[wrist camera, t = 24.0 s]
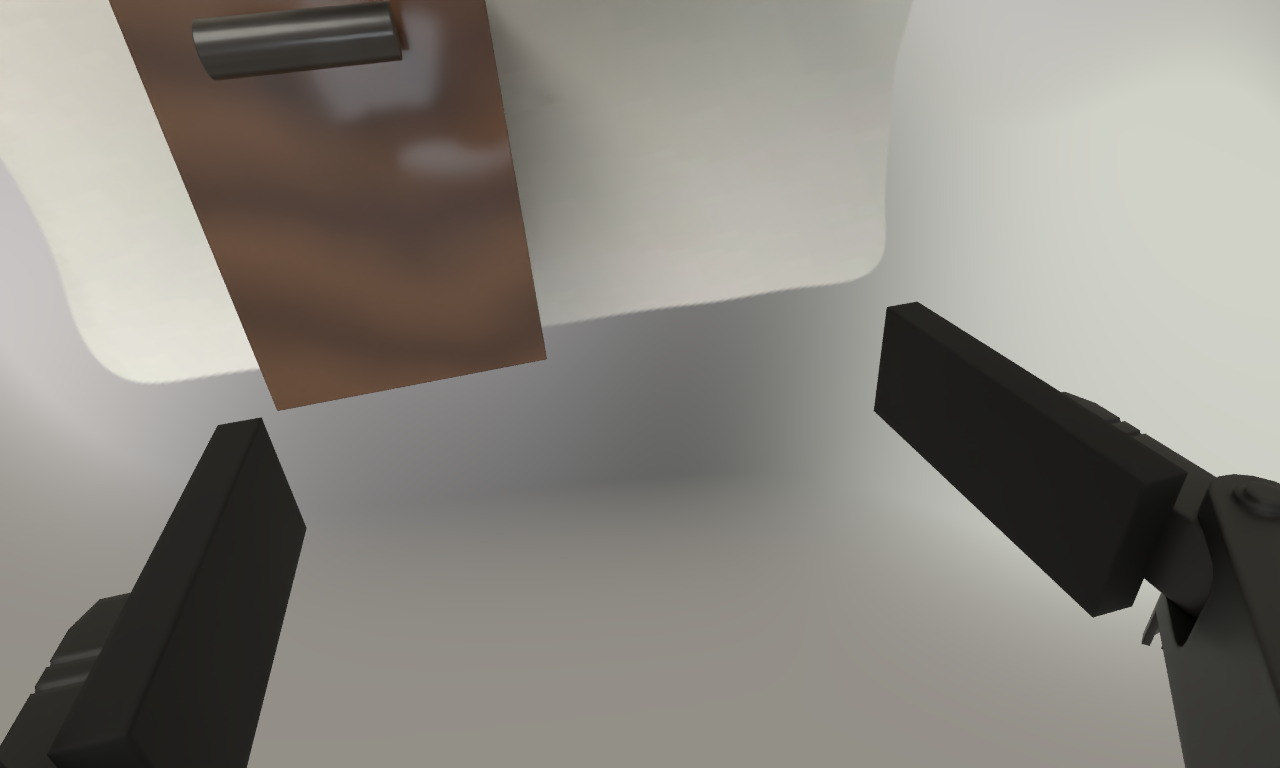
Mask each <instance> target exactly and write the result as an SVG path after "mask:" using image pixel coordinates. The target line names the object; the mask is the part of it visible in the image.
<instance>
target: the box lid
mask: <svg viewBox="0 0 1280 768" xmlns="http://www.w3.org/2000/svg"><path fill="white" fill-rule="evenodd" d="M109 2H110V5H111V7H112V9H113V12H114V14H115V17H116V19H117V22H118V24H119V26H120V29H121V31H122V34H123V36H124V39H125V41H126V44H127V46H128V48H129V51H130V53H131V56H132V58H133V61H134V63H135V65H136V68H137V70H138V73H139V75H140V78H141V80H142V82H143V85H144V87H145V90H146V92H147V95H148V97H149V99H150V102H151V104H152V107H153V109H154V112H155V114H156V116H157V119H158V121H159V124H160V126H161V129H162V131H163V134H164V136H165V138H166V141H167V143H168V146H169V148H170V151H171V153H172V155H173V158H174V160H175V163H176V165H177V168H178V170H179V172H180V175H181V177H182V180H183V182H184V185H185V187H186V189H187V192H188V194H189V197H190V199H191V202H192V204H193V207H194V209H195V211H196V214H197V216H198V219H199V221H200V224H201V226H202V228H203V231H204V233H205V236H206V238H207V241H208V243H209V245H210V248H211V250H212V253H213V255H214V258H215V260H216V262H217V265H218V267H219V270H220V272H221V275H222V277H223V280H224V282H225V284H226V287H227V289H228V292H229V294H230V297H231V299H232V301H233V304H234V306H235V309H236V311H237V314H238V316H239V318H240V321H241V323H242V326H243V328H244V331H245V333H246V335H247V338H248V340H249V343H250V345H251V348H252V350H253V352H254V355H255V357H256V360H257V362H258V365H259V367H260V370H261V372H262V374H263V377H264V379H265V382H266V384H267V386H268V389H269V391H270V394H271V396H272V399H273V401H274V404H275V406H276V408H277V410H278V411H280V410H285V409H290V408H296V407H301V406H306V405H311V404H316V403H322V402H327V401H332V400H337V399H342V398H347V397H353V396H358V395H363V394H368V393H374V392H379V391H384V390H389V389H394V388H400V387H405V386H410V385H415V384H420V383H426V382H431V381H435V380H441V379H446V378H452V377H456V376H462V375H467V374H472V373H477V372H483V371H488V370H493V369H498V368H503V367H509V366H514V365H519V364H524V363H529V362H535V361H540V360H545V359H547V357H546V351H545V345H544V340H543V334H542V328H541V322H540V316H539V310H538V305H537V299H536V293H535V287H534V281H533V276H532V270H531V264H530V258H529V253H528V247H527V241H526V235H525V229H524V224H523V218H522V212H521V206H520V201H519V195H518V189H517V183H516V177H515V172H514V166H513V160H512V154H511V149H510V143H509V137H508V131H507V125H506V120H505V114H504V108H503V102H502V96H501V91H500V85H499V79H498V73H497V68H496V62H495V56H494V50H493V44H492V39H491V33H490V27H489V21H488V16H487V10H486V4H485V0H109Z"/></svg>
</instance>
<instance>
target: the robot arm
mask: <svg viewBox="0 0 1280 768" xmlns="http://www.w3.org/2000/svg"><path fill="white" fill-rule="evenodd" d="M874 411H875V412H876V413H877V414H878V415H879V416H880V417H881V418H882V419H883V420H884V421H885V422H886V423H887V424H888V425H890V427H892V428H893V429H894V430H895V431H896V432H897V433H898V434H899V435H900V436H901V437H902V438H903V439H904V440H906V442H907V443H909V444H910V445H911V446H912V447H913V448H914V449H915V450H916V451H917V452H918V453H919V454H920V455H921V456H922V457H923V458H924V459H925V460H926V461H928V462H929V463H930V464H931V465H932V466H933V467H934V468H935V469H936V470H937V471H938V472H939V473H940V474H941V475H942V476H943V477H944V478H946V479H947V480H948V481H949V482H950V483H951V484H952V485H953V486H954V487H955V488H956V489H957V490H958V491H959V492H960V493H961V494H962V495H964V496H965V497H966V498H967V499H968V500H969V501H970V502H971V503H972V504H973V505H974V506H975V507H976V508H977V509H978V510H980V512H982V513H983V514H984V515H985V516H986V517H987V518H988V519H989V520H990V521H991V522H992V523H993V524H994V525H995V526H996V527H997V528H999V529H1000V530H1001V531H1002V532H1003V533H1004V534H1005V535H1006V536H1007V537H1008V538H1009V539H1010V540H1011V541H1012V542H1014V544H1015V545H1016V546H1018V547H1019V548H1020V549H1021V550H1022V551H1023V552H1024V553H1025V554H1026V555H1027V556H1028V557H1029V558H1030V559H1031V560H1032V561H1033V562H1035V563H1036V564H1037V565H1038V566H1039V567H1040V568H1041V569H1042V570H1043V571H1044V572H1045V573H1046V574H1047V575H1048V576H1050V578H1052V580H1054V581H1055V582H1056V583H1057V584H1058V585H1059V586H1060V587H1061V588H1062V589H1063V590H1064V591H1065V592H1066V593H1067V594H1068V595H1070V596H1071V597H1072V598H1073V599H1074V600H1075V601H1076V602H1077V603H1078V604H1079V605H1080V606H1081V607H1082V608H1083V609H1084V610H1085V611H1086V612H1087V613H1089V614H1090V615H1091V616H1092V617H1096V616H1099V615H1103V614H1107V613H1110V612H1114V611H1117V610H1121V609H1124V608H1128V607H1131V606H1132V605H1133V603H1134V600H1135V598H1136V596H1137V593H1138V591H1139V589H1140V586H1141V584H1142V581H1143V579H1144V578H1145V579H1146V580H1147V581H1148V582H1149V583H1151V584H1152V585H1153V586H1154V587H1156V588H1157V589H1158V590H1159V591H1160V592H1161V595H1160V597H1159V599H1158V602H1157V604H1156V606H1155V608H1154V611H1153V613H1152V615H1151V617H1150V620H1149V622H1148V624H1147V626H1146V629H1145V631H1144V633H1143V638H1142V644H1145V645H1148V646H1150V643H1151V642H1152V640H1153V637H1154V635H1155V634H1157V633H1159V632H1160V636H1161V641H1162V648H1161V649H1163V652H1164V657H1165V662H1166V667H1167V673H1168V678H1169V684H1170V689H1171V694H1172V700H1173V704H1174V710H1175V716H1176V720H1177V726H1178V731H1179V737H1180V742H1181V747H1182V753H1183V758H1184V763H1185V768H1280V484H1279V483H1277V482H1274V481H1271V480H1267V479H1263V478H1259V477H1255V476H1248V475H1237V474H1232V475H1225V476H1219V477H1215V476H1213V475H1212V474H1210V473H1209V472H1207V471H1205V470H1204V469H1202V468H1200V467H1199V466H1197V465H1195V464H1194V463H1192V462H1190V461H1189V460H1187V459H1186V458H1184V457H1182V456H1181V455H1179V454H1177V453H1176V452H1174V451H1172V450H1171V449H1169V448H1168V447H1166V446H1165V445H1163V444H1161V443H1160V442H1158V441H1156V440H1155V439H1153V438H1151V437H1150V436H1148V435H1146V434H1141V433H1140V430H1138V429H1137V428H1135V427H1134V426H1132V425H1130V424H1129V423H1127V422H1125V421H1124V422H1121V421H1120V418H1119V417H1117V416H1116V415H1114V414H1112V413H1111V412H1109V411H1107V410H1106V409H1104V408H1103V407H1101V406H1099V405H1098V404H1096V403H1094V402H1091V401H1088V400H1086V399H1083V398H1080V397H1078V396H1075V395H1072V394H1069V393H1067V392H1060V391H1058V390H1056V389H1055V388H1053V387H1052V386H1050V385H1049V384H1047V383H1046V382H1044V381H1042V380H1041V379H1039V378H1037V377H1036V376H1034V375H1033V374H1031V373H1030V372H1028V371H1026V370H1025V369H1023V368H1022V367H1020V366H1019V365H1017V364H1015V363H1014V362H1012V361H1011V360H1009V359H1007V358H1006V357H1004V356H1003V355H1001V354H1000V353H998V352H996V351H995V350H993V349H992V348H990V347H988V346H987V345H985V344H984V343H982V342H980V341H979V340H977V339H976V338H974V337H973V336H971V335H969V334H968V333H966V332H965V331H963V330H961V329H960V328H958V327H957V326H955V325H953V324H952V323H950V322H949V321H947V320H946V319H944V318H942V317H941V316H939V315H938V314H936V313H934V312H933V311H931V310H930V309H928V308H927V307H925V306H923V305H922V304H920V303H918V302H913V303H907V304H902V305H896V306H890V307H887V310H886V319H885V327H884V334H883V342H882V350H881V359H880V366H879V375H878V382H877V390H876V398H875V406H874ZM305 532H306V526H305V523H304V521H303V518H302V516H301V514H300V511H299V508H298V506H297V504H296V501H295V499H294V496H293V494H292V491H291V489H290V486H289V484H288V482H287V479H286V477H285V474H284V472H283V469H282V467H281V464H280V462H279V459H278V457H277V454H276V452H275V450H274V447H273V445H272V442H271V440H270V437H269V435H268V432H267V430H266V428H265V425H264V423H263V420H262V418H256V419H250V420H245V421H239V422H233V423H228V424H222V425H218V426H217V428H216V430H215V432H214V434H213V435H212V438H211V439H210V441H209V443H208V445H207V447H206V449H205V451H204V453H203V455H202V457H201V459H200V460H199V462H198V464H197V466H196V468H195V470H194V472H193V474H192V476H191V478H190V480H189V482H188V484H187V486H186V488H185V489H184V491H183V493H182V495H181V497H180V499H179V501H178V503H177V505H176V507H175V509H174V511H173V513H172V514H171V516H170V518H169V520H168V522H167V524H166V526H165V528H164V530H163V532H162V534H161V536H160V538H159V540H158V541H157V543H156V545H155V547H154V549H153V551H152V553H151V555H150V557H149V559H148V561H147V563H146V565H145V567H144V568H143V570H142V572H141V574H140V576H139V578H138V580H137V582H136V584H135V586H134V588H133V590H132V592H131V593H127V594H122V595H118V596H113V597H108V598H104V599H100V600H99V601H98V602H97V603H96V604H95V605H93V607H91V608H90V609H89V610H88V611H87V612H86V613H85V614H84V615H83V616H82V617H81V618H80V619H79V620H78V621H77V622H76V623H75V624H74V625H73V626H72V627H71V628H70V629H69V630H68V631H67V633H66V635H65V636H64V638H63V640H62V642H61V643H60V645H59V647H58V649H57V650H56V652H55V653H54V655H53V657H52V659H51V660H50V662H51V665H50V667H46V669H45V671H44V672H43V674H42V676H41V677H40V679H39V681H38V682H37V684H36V686H35V693H34V694H30V696H29V698H28V699H27V701H26V703H25V704H24V706H23V708H22V710H21V711H20V713H19V715H18V716H17V718H16V720H15V722H14V723H13V725H12V727H11V728H10V730H9V732H8V733H7V735H6V737H5V739H4V740H3V742H2V744H1V745H0V768H247V764H248V760H249V756H250V752H251V748H252V744H253V740H254V736H255V732H256V728H257V724H258V720H259V716H260V712H261V708H262V704H263V700H264V696H265V692H266V688H267V684H268V680H269V676H270V672H271V668H272V664H273V660H274V656H275V652H276V648H277V644H278V640H279V636H280V632H281V628H282V624H283V620H284V616H285V612H286V608H287V604H288V600H289V596H290V592H291V588H292V584H293V580H294V576H295V572H296V568H297V564H298V560H299V556H300V552H301V548H302V544H303V540H304V536H305Z"/></svg>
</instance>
